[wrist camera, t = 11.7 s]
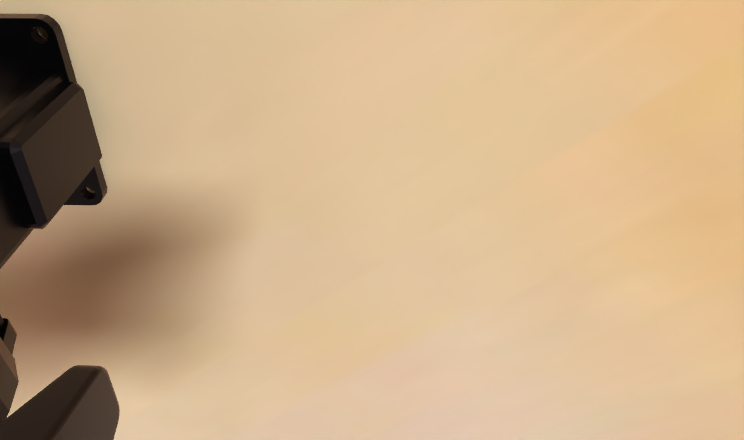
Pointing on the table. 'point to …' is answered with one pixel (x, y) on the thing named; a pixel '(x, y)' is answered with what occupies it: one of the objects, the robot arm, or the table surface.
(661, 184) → the table surface
